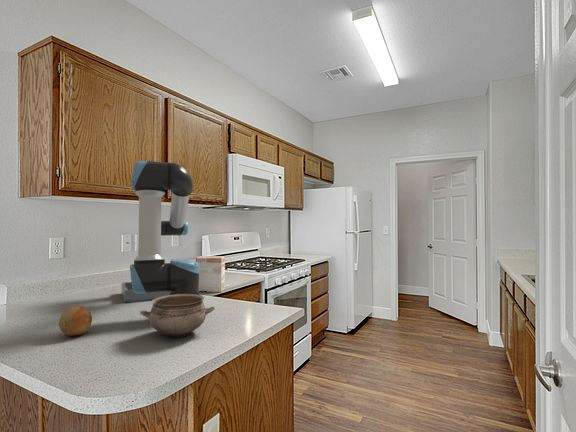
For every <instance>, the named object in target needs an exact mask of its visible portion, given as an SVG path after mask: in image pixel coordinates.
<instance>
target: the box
mask: <svg viewBox="0 0 576 432" xmlns="http://www.w3.org/2000/svg"><path fill="white" fill-rule="evenodd" d="M121 295H122V299H123V301H124V303H125V304H130V303H140V302H142V303H143V302H149V301H151V302H152V300H153V299H155V298H158V297H162V296H167V295H170V292H158V293H147V294H145V293H142V294H137V293H135V292H134V291H133V288H132V281H125V282H124V281H123V282H121Z"/></svg>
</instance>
